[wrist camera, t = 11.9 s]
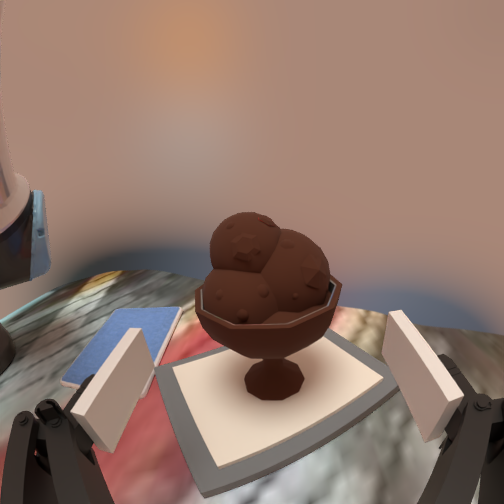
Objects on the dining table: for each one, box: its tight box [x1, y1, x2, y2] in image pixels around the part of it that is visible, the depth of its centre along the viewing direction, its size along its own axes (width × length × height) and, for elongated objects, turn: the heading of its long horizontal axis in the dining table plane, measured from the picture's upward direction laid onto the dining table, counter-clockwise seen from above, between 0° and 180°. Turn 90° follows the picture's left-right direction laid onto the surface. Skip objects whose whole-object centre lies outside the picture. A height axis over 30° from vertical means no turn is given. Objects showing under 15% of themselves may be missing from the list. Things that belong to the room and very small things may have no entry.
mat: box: [154, 328, 400, 498], centre depth 24 cm, size 16×20×1 cm
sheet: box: [172, 336, 383, 469], centre depth 23 cm, size 13×16×1 cm
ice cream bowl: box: [195, 212, 342, 401], centre depth 21 cm, size 11×11×15 cm
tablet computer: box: [60, 307, 183, 399], centre depth 32 cm, size 19×13×1 cm, turn 179°
